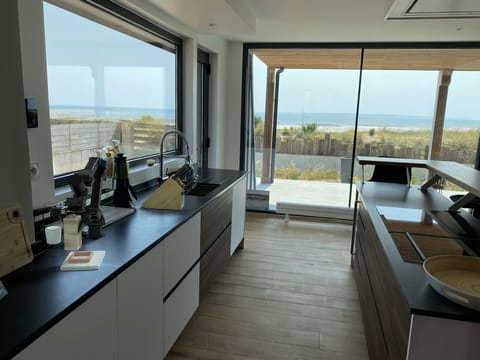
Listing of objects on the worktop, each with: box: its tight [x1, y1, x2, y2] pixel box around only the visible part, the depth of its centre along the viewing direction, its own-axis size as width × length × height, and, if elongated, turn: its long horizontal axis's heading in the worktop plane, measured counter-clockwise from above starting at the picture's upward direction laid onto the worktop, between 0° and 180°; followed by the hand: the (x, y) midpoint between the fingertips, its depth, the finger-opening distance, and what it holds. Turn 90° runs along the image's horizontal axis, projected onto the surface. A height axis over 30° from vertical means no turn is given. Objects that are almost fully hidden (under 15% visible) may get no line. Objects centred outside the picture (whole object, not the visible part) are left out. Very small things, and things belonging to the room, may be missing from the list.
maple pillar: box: [62, 214, 83, 251], centre depth 148 cm, size 5×5×14 cm
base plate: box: [60, 250, 106, 272], centre depth 151 cm, size 16×14×3 cm
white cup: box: [44, 225, 62, 245], centre depth 171 cm, size 7×7×7 cm
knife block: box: [141, 161, 199, 211], centre depth 238 cm, size 11×35×31 cm, turn 89°
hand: (71, 232), depth 146 cm, fingers closed on maple pillar, 5 cm apart
